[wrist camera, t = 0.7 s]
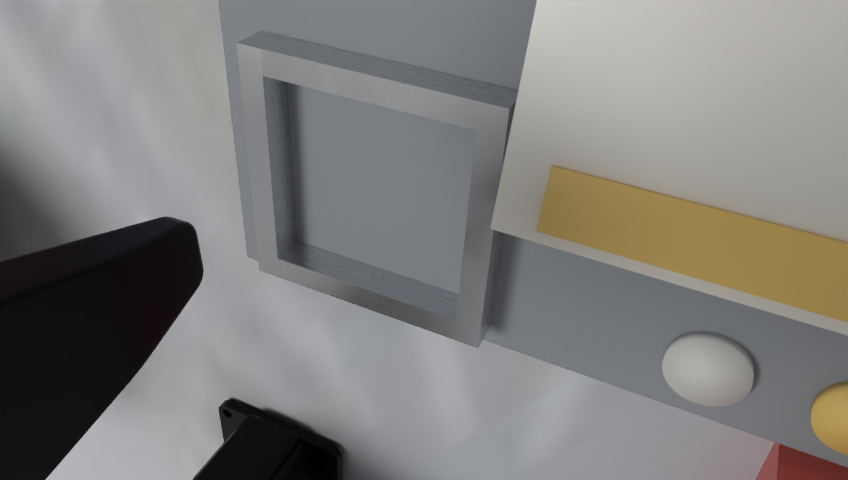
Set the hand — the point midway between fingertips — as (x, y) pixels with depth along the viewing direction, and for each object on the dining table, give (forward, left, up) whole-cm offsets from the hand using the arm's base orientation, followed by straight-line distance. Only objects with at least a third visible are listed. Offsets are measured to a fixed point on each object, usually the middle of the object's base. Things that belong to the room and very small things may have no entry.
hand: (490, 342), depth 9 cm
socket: (-5, +7, -11) cm, 14 cm away
